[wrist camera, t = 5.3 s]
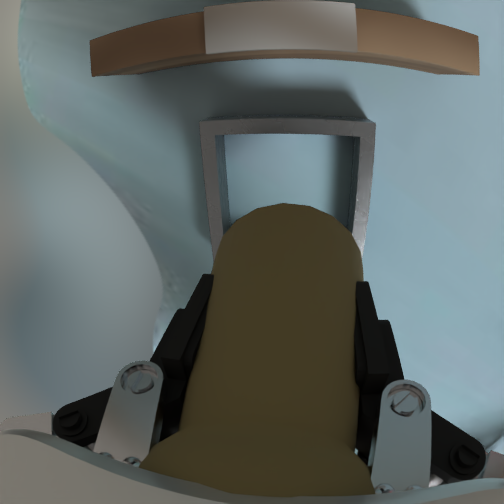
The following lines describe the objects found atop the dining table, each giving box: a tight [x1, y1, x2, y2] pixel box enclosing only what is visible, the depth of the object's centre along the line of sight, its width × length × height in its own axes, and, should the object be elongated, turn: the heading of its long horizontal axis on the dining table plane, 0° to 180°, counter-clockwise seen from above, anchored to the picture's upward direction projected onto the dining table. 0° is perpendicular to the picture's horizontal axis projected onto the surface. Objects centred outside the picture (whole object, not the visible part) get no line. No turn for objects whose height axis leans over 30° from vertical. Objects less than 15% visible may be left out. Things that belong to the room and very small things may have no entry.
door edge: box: [90, 0, 479, 77], centre depth 12 cm, size 2×18×5 cm, turn 92°
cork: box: [138, 203, 375, 497], centre depth 8 cm, size 6×6×11 cm
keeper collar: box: [199, 115, 376, 260], centre depth 18 cm, size 9×9×2 cm
